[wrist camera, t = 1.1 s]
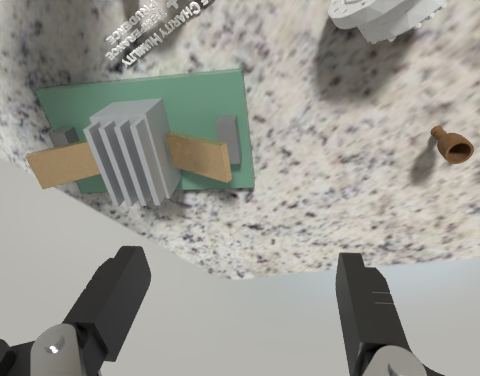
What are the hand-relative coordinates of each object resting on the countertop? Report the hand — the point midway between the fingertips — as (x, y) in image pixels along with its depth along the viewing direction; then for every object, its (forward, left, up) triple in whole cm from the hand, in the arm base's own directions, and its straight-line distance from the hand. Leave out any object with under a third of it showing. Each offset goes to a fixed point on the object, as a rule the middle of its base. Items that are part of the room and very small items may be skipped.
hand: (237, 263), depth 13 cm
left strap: (-10, -16, -21) cm, 28 cm away
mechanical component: (+1, +14, -26) cm, 29 cm away
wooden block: (-5, -11, -21) cm, 24 cm away
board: (-7, -13, -25) cm, 29 cm away
